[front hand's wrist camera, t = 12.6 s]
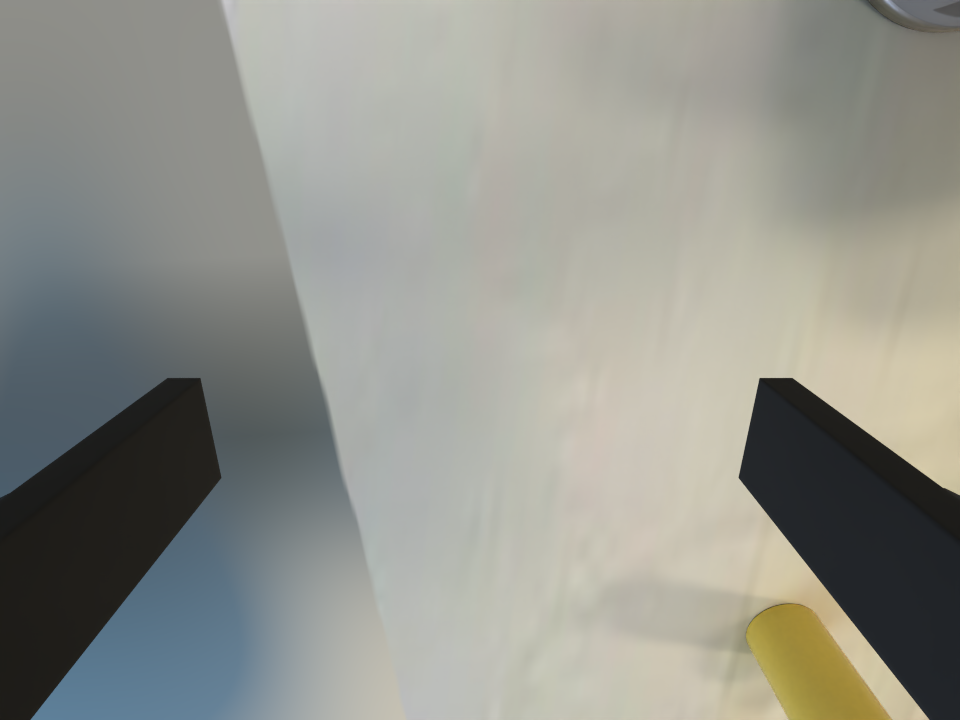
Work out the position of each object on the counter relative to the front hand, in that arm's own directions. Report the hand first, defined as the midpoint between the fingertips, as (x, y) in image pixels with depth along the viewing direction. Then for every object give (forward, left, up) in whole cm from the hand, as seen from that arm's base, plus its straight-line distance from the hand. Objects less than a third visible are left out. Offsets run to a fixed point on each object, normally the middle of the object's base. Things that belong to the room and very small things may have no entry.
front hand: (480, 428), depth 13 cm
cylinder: (-47, +4, -27) cm, 55 cm away
